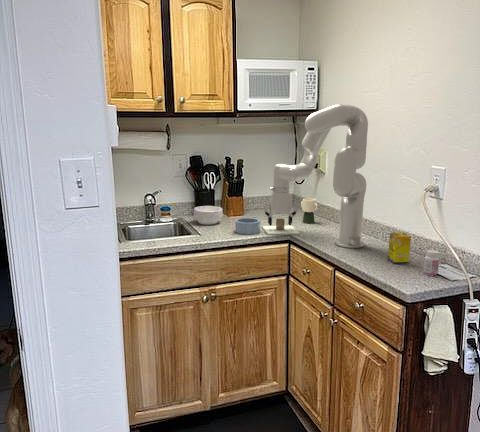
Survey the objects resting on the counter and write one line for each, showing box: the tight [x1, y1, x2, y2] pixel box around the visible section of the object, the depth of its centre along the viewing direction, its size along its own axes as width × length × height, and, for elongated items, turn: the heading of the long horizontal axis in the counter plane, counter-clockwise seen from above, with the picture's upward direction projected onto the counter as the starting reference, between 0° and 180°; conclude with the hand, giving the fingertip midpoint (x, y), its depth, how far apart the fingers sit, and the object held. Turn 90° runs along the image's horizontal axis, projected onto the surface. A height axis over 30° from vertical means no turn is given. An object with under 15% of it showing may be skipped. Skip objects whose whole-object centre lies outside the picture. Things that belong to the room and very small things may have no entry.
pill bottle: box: [423, 249, 440, 276], centre depth 159 cm, size 5×5×8 cm
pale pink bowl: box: [193, 205, 224, 226], centre depth 237 cm, size 15×15×8 cm
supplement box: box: [387, 232, 412, 265], centre depth 173 cm, size 6×6×11 cm
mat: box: [260, 226, 301, 236], centre depth 219 cm, size 16×16×1 cm
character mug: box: [300, 197, 319, 224], centre depth 238 cm, size 11×7×13 cm, turn 43°
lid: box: [261, 217, 300, 236], centre depth 219 cm, size 15×15×6 cm
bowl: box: [234, 217, 262, 236], centre depth 217 cm, size 12×12×6 cm
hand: (280, 224), depth 219 cm, fingers open, 9 cm apart
